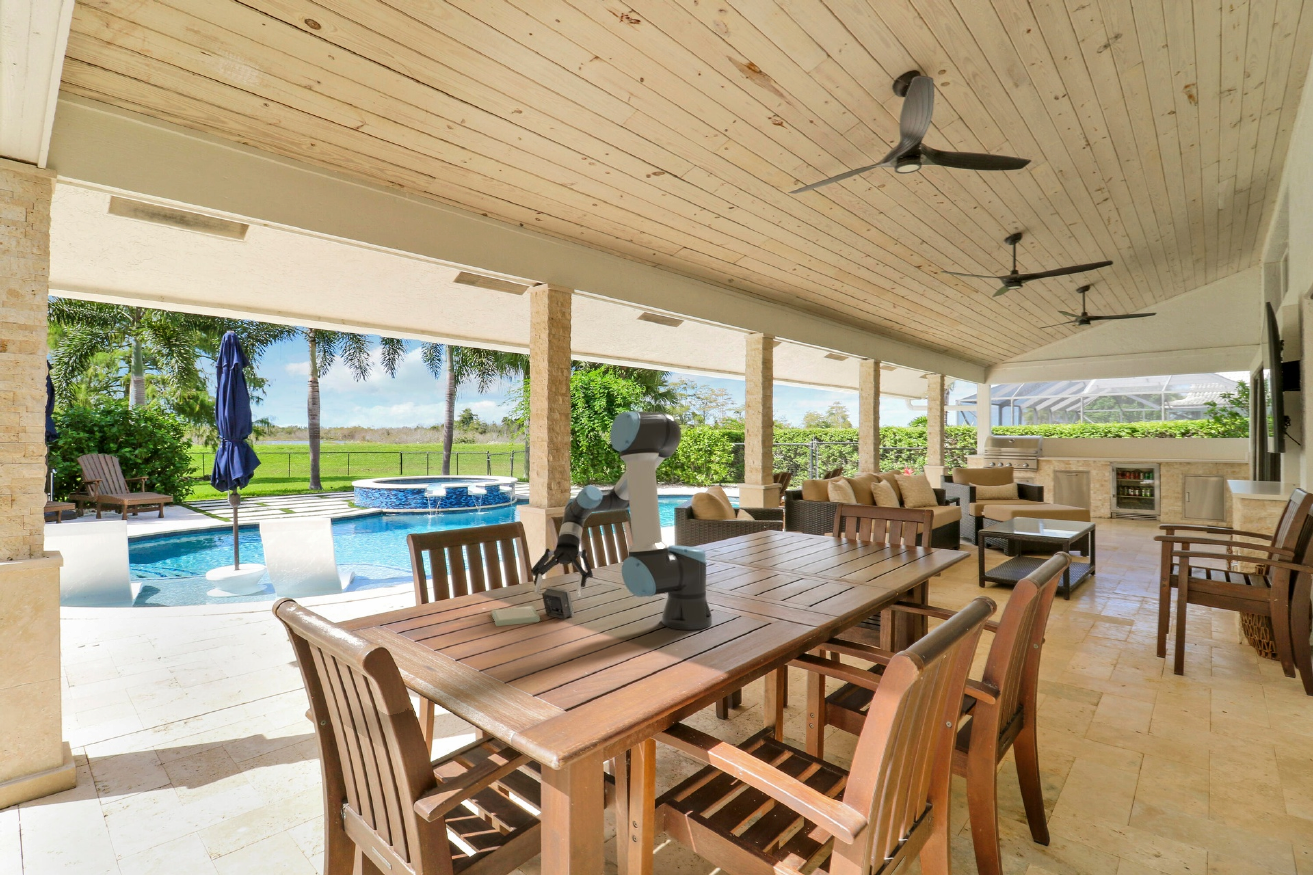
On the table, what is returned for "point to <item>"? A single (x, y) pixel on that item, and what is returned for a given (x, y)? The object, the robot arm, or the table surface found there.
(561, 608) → the electrical switch
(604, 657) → the table surface
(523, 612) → the board
